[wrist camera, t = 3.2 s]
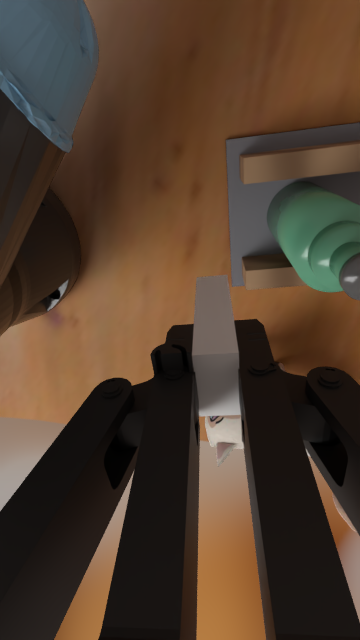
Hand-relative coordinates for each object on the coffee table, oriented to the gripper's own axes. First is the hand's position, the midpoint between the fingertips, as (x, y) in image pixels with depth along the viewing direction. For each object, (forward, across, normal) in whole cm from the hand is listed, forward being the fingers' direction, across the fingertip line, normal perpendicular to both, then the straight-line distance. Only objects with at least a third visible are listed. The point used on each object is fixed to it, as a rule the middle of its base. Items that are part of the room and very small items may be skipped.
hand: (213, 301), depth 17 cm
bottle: (+16, +8, 0) cm, 17 cm away
